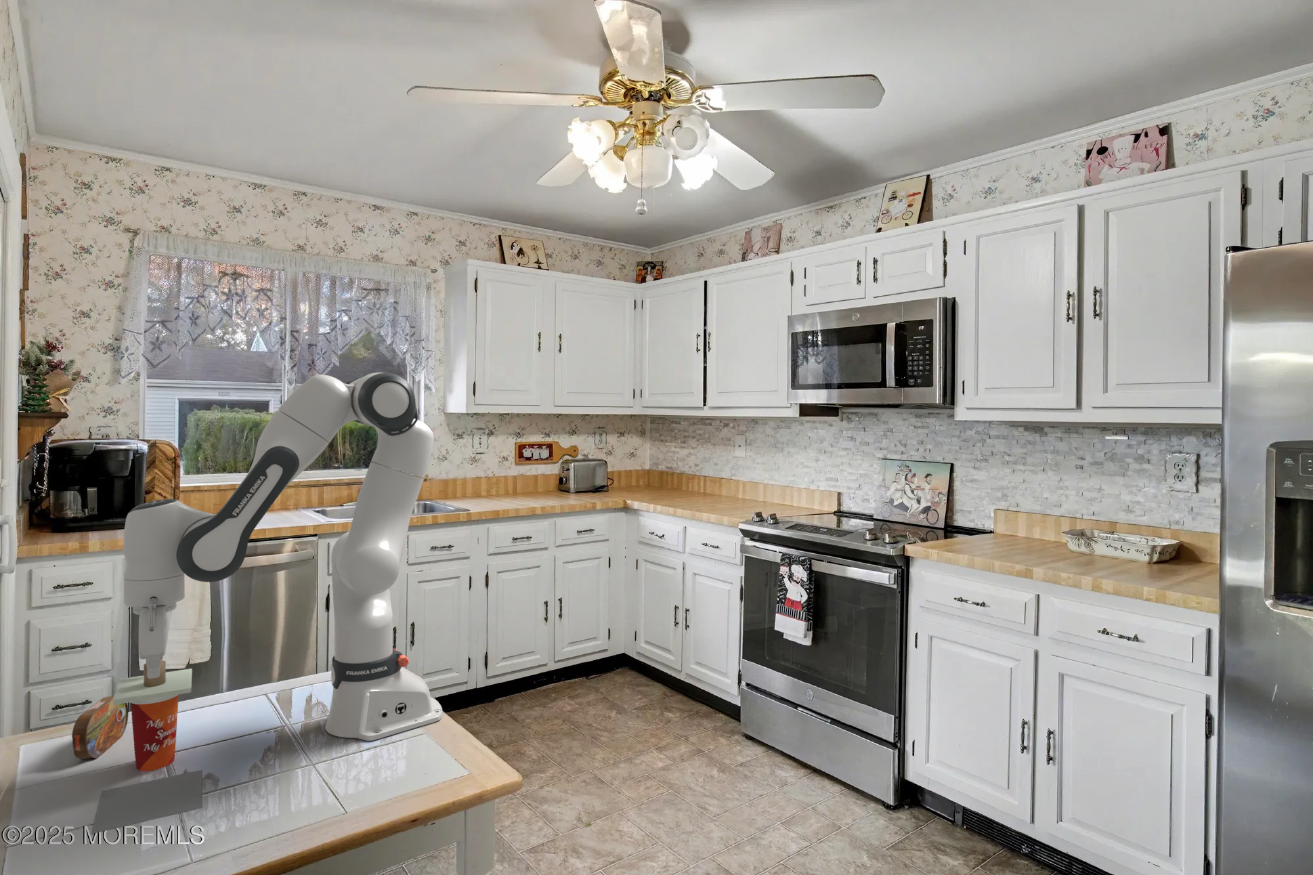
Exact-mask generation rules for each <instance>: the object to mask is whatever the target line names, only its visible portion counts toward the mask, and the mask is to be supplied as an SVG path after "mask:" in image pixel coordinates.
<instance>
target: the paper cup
mask: <svg viewBox="0 0 1313 875" xmlns="http://www.w3.org/2000/svg"><path fill="white" fill-rule="evenodd" d="M179 695H180V694H179ZM179 695H172V696H166V697H160V698H154V699H148V700H141V701H135V702H129V703H130V710H131V711H130V712H131V723H132V735H133V737H132V738H133V748H134V758H135V767H136V770H137V771H140V772H149V771H155V770H160V769H164V768H166V767H167V766H170V765H171V764H173V763H174V762H175V755H176V743H177V730H178V728H177V727H178V713H179Z"/></svg>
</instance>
